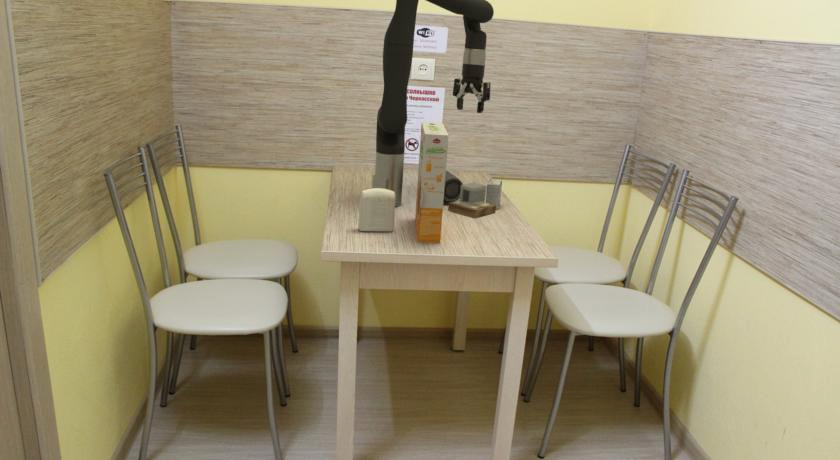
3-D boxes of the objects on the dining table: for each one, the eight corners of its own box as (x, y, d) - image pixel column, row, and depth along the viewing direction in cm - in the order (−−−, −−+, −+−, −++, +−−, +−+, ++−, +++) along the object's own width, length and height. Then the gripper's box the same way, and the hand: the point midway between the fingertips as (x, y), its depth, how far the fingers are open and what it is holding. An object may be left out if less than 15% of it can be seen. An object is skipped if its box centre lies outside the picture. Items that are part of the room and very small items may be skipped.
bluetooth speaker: (464, 205, 229) (466, 176, 226) (438, 205, 226) (441, 176, 223) (439, 188, 249) (441, 162, 246) (416, 189, 246) (417, 162, 243)
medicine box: (497, 210, 225) (500, 184, 223) (484, 208, 226) (487, 183, 224) (500, 204, 233) (502, 180, 230) (487, 203, 234) (489, 178, 231)
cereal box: (415, 219, 208) (421, 122, 200) (435, 220, 209) (442, 123, 200) (417, 241, 187) (425, 134, 178) (440, 243, 187) (448, 135, 178)
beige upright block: (392, 227, 198) (394, 186, 194) (395, 232, 194) (397, 190, 190) (357, 228, 195) (359, 186, 192) (359, 232, 191) (361, 190, 188)
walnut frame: (474, 218, 214) (475, 209, 213) (448, 210, 221) (448, 202, 220) (495, 212, 222) (495, 204, 221) (468, 205, 229) (469, 197, 228)
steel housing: (471, 206, 216) (473, 188, 215) (459, 203, 219) (460, 185, 218) (484, 203, 221) (486, 185, 220) (472, 200, 225) (474, 182, 223)
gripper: (450, 61, 229) (446, 109, 234) (484, 64, 220) (479, 114, 225) (464, 61, 234) (460, 108, 239) (497, 64, 225) (492, 113, 230)
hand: (469, 111), depth 232 cm, fingers open, 8 cm apart
